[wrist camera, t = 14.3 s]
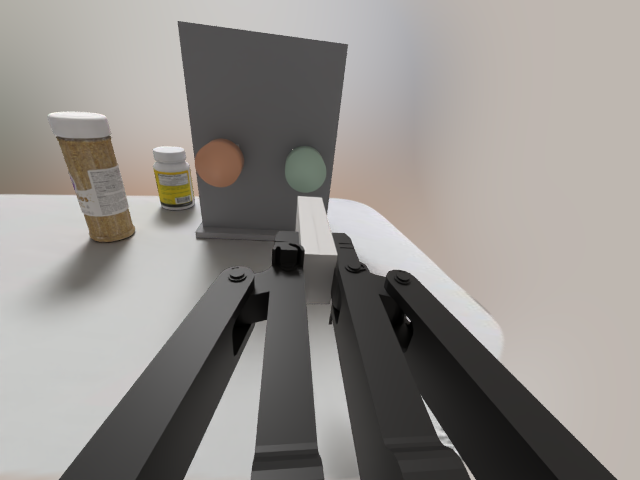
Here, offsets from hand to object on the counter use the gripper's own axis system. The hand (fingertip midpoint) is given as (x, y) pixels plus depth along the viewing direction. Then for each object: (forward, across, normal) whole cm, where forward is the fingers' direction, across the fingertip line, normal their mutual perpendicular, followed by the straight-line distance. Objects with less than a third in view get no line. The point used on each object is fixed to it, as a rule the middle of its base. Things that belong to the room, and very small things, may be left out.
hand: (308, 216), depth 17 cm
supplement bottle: (+26, -18, -11) cm, 33 cm away
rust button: (+19, -8, -3) cm, 21 cm away
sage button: (+19, +1, -3) cm, 19 cm away
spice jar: (+16, -22, -11) cm, 29 cm away
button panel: (+18, -4, -11) cm, 22 cm away
